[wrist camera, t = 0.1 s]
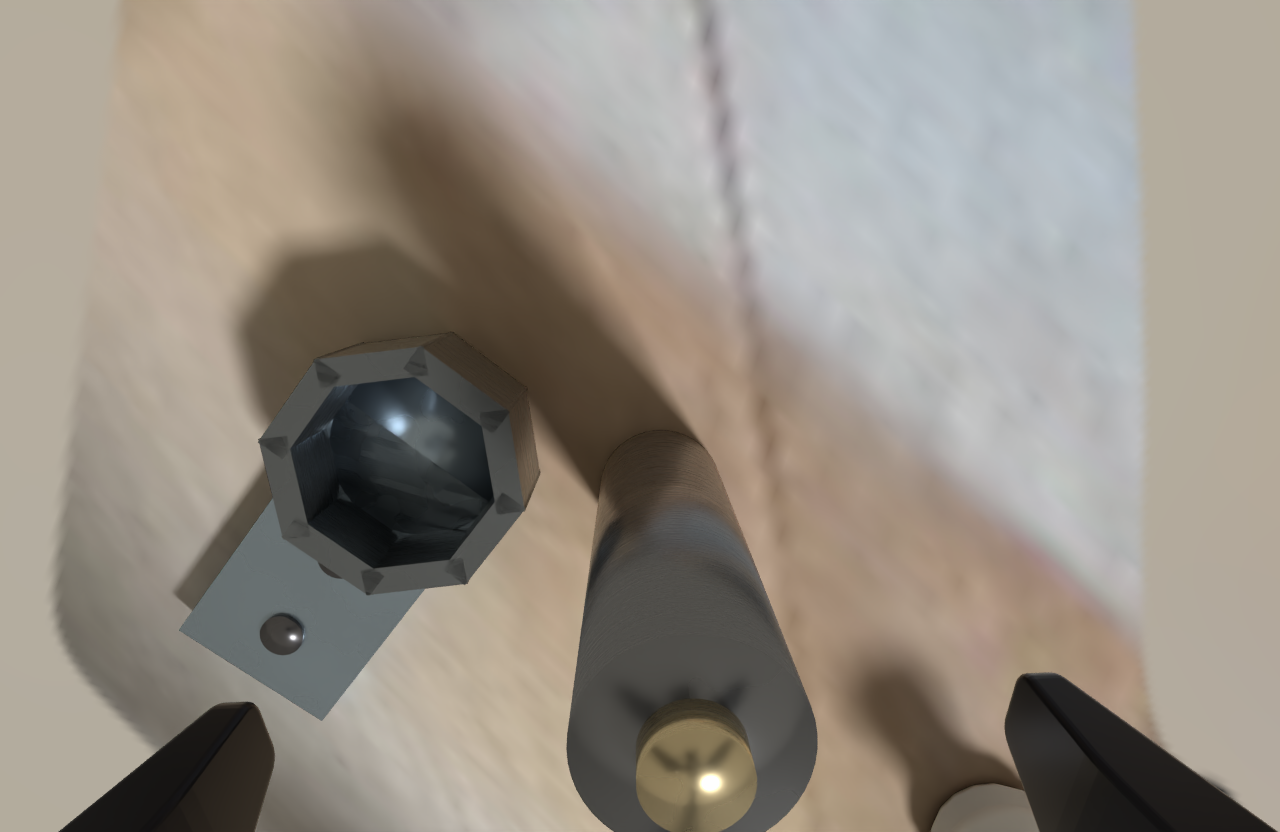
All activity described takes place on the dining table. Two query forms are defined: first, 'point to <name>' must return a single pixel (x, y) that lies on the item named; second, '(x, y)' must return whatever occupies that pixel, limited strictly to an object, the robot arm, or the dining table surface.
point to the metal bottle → (682, 658)
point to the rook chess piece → (986, 811)
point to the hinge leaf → (368, 509)
